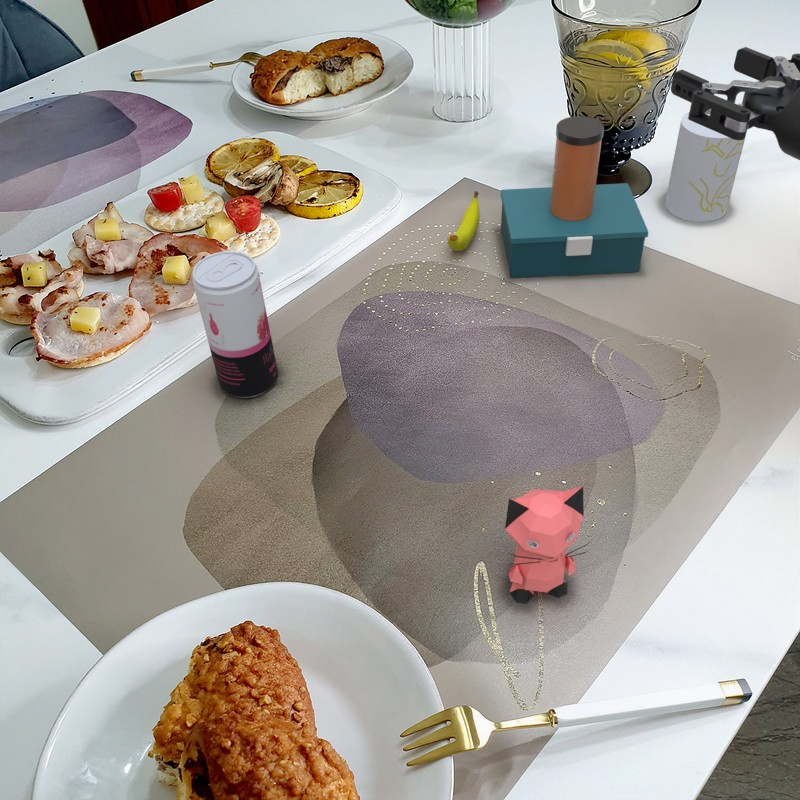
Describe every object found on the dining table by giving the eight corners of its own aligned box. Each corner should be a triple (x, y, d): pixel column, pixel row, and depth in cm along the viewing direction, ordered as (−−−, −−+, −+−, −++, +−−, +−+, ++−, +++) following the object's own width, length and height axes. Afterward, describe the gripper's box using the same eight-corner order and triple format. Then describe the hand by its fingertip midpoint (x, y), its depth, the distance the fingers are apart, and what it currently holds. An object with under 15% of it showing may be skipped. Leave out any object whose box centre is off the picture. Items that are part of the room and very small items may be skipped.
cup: (690, 227, 113) (709, 143, 105) (652, 199, 118) (668, 117, 110) (739, 212, 115) (762, 128, 107) (700, 185, 121) (719, 103, 112)
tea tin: (588, 197, 108) (599, 114, 101) (597, 220, 104) (608, 136, 97) (546, 199, 108) (553, 117, 101) (552, 222, 104) (560, 139, 97)
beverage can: (290, 378, 95) (270, 266, 85) (243, 409, 92) (217, 297, 81) (254, 352, 99) (230, 242, 88) (207, 381, 95) (177, 270, 85)
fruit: (469, 221, 117) (469, 188, 113) (483, 223, 116) (484, 190, 113) (444, 262, 110) (444, 228, 106) (460, 265, 109) (460, 231, 106)
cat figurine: (507, 622, 72) (513, 534, 64) (487, 556, 77) (491, 467, 68) (588, 607, 73) (605, 519, 64) (563, 543, 77) (576, 453, 69)
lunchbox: (620, 221, 115) (627, 181, 111) (642, 275, 106) (649, 233, 102) (498, 227, 115) (500, 187, 111) (509, 281, 106) (511, 241, 102)
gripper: (920, 66, 73) (766, 11, 83) (807, 112, 68) (658, 48, 78) (889, 147, 78) (748, 87, 88) (782, 196, 73) (646, 126, 83)
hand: (706, 69), depth 83 cm, fingers open, 8 cm apart
